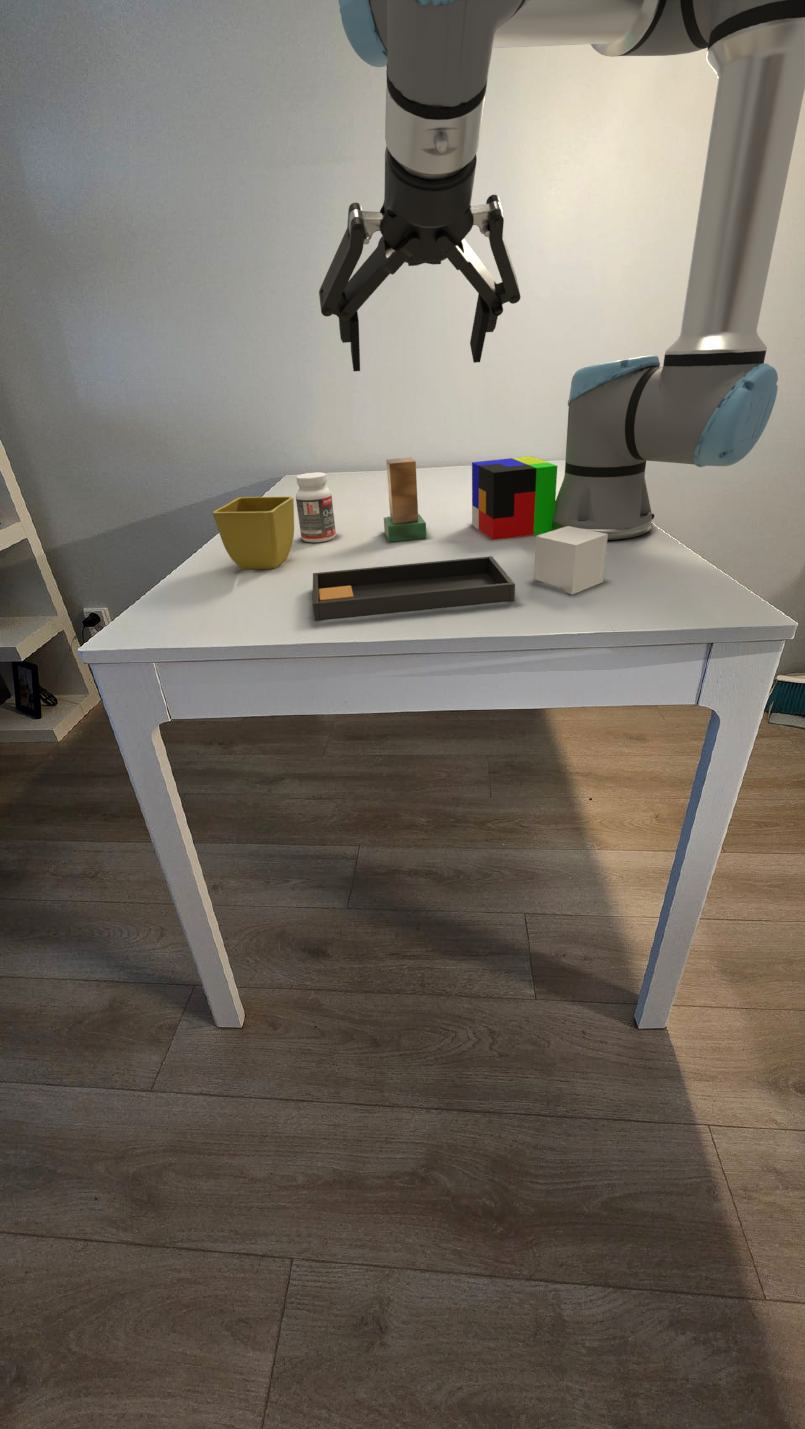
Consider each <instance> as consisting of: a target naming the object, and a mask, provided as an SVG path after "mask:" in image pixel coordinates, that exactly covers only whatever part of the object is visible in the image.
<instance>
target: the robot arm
mask: <svg viewBox="0 0 805 1429" xmlns="http://www.w3.org/2000/svg"><path fill="white" fill-rule="evenodd" d="M338 5H339V13H340V16H341V17H340V18H341V25H342V28H343V30H344V34H345V36H346V38H347V40H348V42H349V44H350V46H351V48H352V49H353V51H354V52H355V54H356V55H357V56H358V57H359V58H360V59H361V60H362V62H364V63H366V64H367V65H369V66H371V67H374V68H383V67H386V71H385V72H386V73H385V74H386V79H385V80H386V81H385V82H386V84H385V117H384V118H385V119H384V120H385V122H384V124H385V125H384V126H385V127H384V139H385V149H384V195H383V196H384V197H383V198H384V199H383V203H382V206H381V207H380V209H379V211H369V210H368V211H367V210H363V207H362V205H361V204H360V203H359V202H352V203H351V204H350V205H349V206H348V211H347V212H348V213H347V228H346V229H345V231H344V234H343V236H342V238H341V241H340V243H339V245H338V247H337V249H336V252H335V254H334V257H333V258H332V261H331V263H330V266H329V268H328V269H327V272H326V273H325V274H326V275H325V276H324V279H323V281H322V283H321V285H320V288H319V290H318V295H319V296H318V298H319V304H320V305H319V306H320V312H321V315H322V316H324V317H330V316H331V317H332V315H334V316H336V317H338V328H339V336H340V341H341V342H342V343H343V344H346V343H350V355H351V362H352V370H353V372H361V353H360V350H361V349H360V321H359V314H358V311H359V309H360V308H361V307H362V306H363V305H364V304H365V303H366V301H368V299H369V298H370V297H371V296H372V295H373V294H374V293H375V291H376V290H377V289H378V288H379V287H380V286H381V285H382V283H383V282H384V281H385V280H386V279H387V278H388V277H389V276H390V275H392V276H393V275H394V274H396V273H397V271H398V270H399V269H400V268H401V267H402V266H403V265H404V264H405V263H406V264H407V266H408V267H416V266H420V265H424V264H427V265H432V266H433V265H442V261H444V260H446V259H447V260H448V262H450V264H451V265H452V266H453V267H454V268H455V270H456V271H460V272H461V274H462V275H463V276H464V277H465V279H466V280H467V281H468V283H469V284H470V285H471V286H472V287H473V288H474V290H475V291H476V292H477V294H478V296H477V301H476V306H475V312H474V317H473V323H472V329H471V335H470V341H469V346H470V351H471V356H472V361H473V362H472V363H474V364H475V363H476V364H477V363H481V360H482V354H483V351H484V350H483V349H484V345H485V341H486V340H485V339H486V335H487V333H494V331H495V330H496V327H497V322H498V317H500V316H501V315H502V314H503V312H504V307H503V305H504V304H506V303H510V304H514V305H515V304H517V303H519V302H520V300H521V298H522V297H521V292H520V287H519V282H518V279H517V278H518V277H517V274H516V271H515V268H514V265H513V262H512V259H511V256H510V252H509V248H508V246H507V243H506V242H507V241H506V240H505V239H506V238H505V237H504V224H505V223H504V222H505V218H504V213H503V209H502V205H501V200H500V197H499V195H498V194H491V195H489V196H488V197H487V199H486V202H485V204H484V203H483V204H479V205H478V204H477V205H471V203H472V197H473V190H474V183H475V175H476V168H477V162H478V160H477V159H478V158H477V153H478V150H479V145H480V139H481V138H480V137H481V130H482V122H483V114H484V106H485V98H486V94H487V87H488V80H489V79H488V78H489V72H490V67H491V66H490V64H491V59H492V53H493V49H510V48H513V49H514V48H533V47H557V46H558V47H559V46H581V45H590V46H591V47H592V48H593V50H594V51H596V52H597V53H598V54H600V55H602V56H605V57H656V56H657V57H661V56H662V57H667V56H678V55H685V54H691V53H695V52H699V51H702V50H705V49H707V50H706V62H707V64H708V65H709V66H710V67H711V68H712V70H713V71H714V72H715V74H716V76H717V79H718V80H717V86H716V93H715V98H714V106H713V112H712V119H711V125H710V133H709V139H708V146H707V152H706V159H705V166H704V173H703V180H702V186H701V192H700V199H699V206H698V212H697V221H696V227H695V233H694V240H693V246H692V252H691V260H690V266H689V274H688V279H687V287H686V293H685V300H684V306H683V307H684V308H683V313H682V320H681V327H680V334H679V336H678V337H677V338H676V340H675V341H674V342H673V343H671V345H670V346H668V348H667V349H666V350H665V351H664V357H663V363H662V367H661V362H660V358H659V356H658V355H657V354H652V355H651V354H650V355H644V356H638V357H632V358H626V359H620V360H619V359H618V360H614V361H608V362H601V363H597V364H592V365H587V366H583V367H581V368H579V369H578V370H576V371H575V372H574V374H573V376H572V378H571V382H570V390H569V395H568V396H569V397H568V400H567V406H568V412H567V426H566V427H567V429H566V442H565V444H566V445H565V446H566V447H565V461H564V462H565V463H564V464H565V465H564V475H563V479H562V483H561V485H560V487H559V491H558V493H557V495H556V498H555V514H554V517H553V521H552V531H554V530H557V529H560V528H563V527H566V526H571V527H576V528H581V529H586V530H591V531H595V532H600V533H605V534H608V538H607V541H613V540H624V539H632V538H635V537H639V536H642V535H644V534H647V533H648V532H650V530H651V528H652V520H654V518H655V514H654V513H653V512H652V507H651V502H650V497H649V493H648V492H649V491H648V488H647V481H646V469H647V468H646V467H647V462H659V463H669V464H670V463H671V464H672V463H673V464H683V465H693V466H696V467H698V468H703V467H729V466H733V465H735V464H737V463H739V462H741V460H743V459H744V458H745V457H746V456H748V454H749V453H750V452H751V451H752V450H753V448H754V447H755V446H756V444H757V442H758V441H759V440H760V438H761V436H762V435H763V433H764V430H765V429H766V427H767V425H768V423H769V419H770V417H771V416H772V412H773V409H774V406H775V403H776V400H777V394H778V389H779V388H778V386H779V385H777V383H778V380H779V374H778V372H777V370H776V369H775V367H774V366H772V365H770V364H769V363H765V358H766V354H767V349H768V347H767V345H766V344H765V343H764V341H763V340H762V339H761V337H760V336H759V334H758V325H759V320H760V315H761V310H762V306H763V300H764V296H765V289H766V285H767V280H768V276H769V270H770V266H771V260H772V255H773V249H774V245H775V240H776V235H777V231H778V224H779V221H780V215H781V209H782V204H783V200H784V195H785V190H786V184H787V179H788V175H789V170H790V164H791V160H792V154H793V150H794V145H795V140H796V135H797V129H798V126H799V125H798V124H799V120H800V114H801V109H802V104H803V100H804V94H805V0H338ZM474 226H477V227H478V229H479V232H480V233H481V234H482V235H484V237H485V238H488V240H489V246H490V249H491V250H490V251H491V253H492V256H493V259H494V262H495V265H496V268H497V270H498V273H499V276H500V279H501V282H497V280H496V279H495V278H494V276H493V275H492V274H491V273H490V271H489V270H488V268H486V266H485V265H484V263H483V262H482V261H481V259H480V258H479V256H478V255H477V254H476V252H474V249H472V247H471V246H470V245H469V244H468V242H467V241H466V239H465V238H466V237H467V235H469V233H470V232H471V230H472V229H473V227H474ZM376 232H380V234H381V237H380V238H379V240H378V243H377V247H375V249H374V250H373V251H372V252H371V254H370V255H369V256H368V257H367V259H366V260H365V261H364V262H362V264H361V266H360V267H359V268H358V269H357V271H355V269H356V266H357V264H358V262H359V261H360V258H361V256H362V253H363V250H364V245H365V246H366V245H369V243H370V240H371V239H372V237H373V234H374V233H376ZM354 271H355V273H354ZM353 273H354V274H353Z"/></svg>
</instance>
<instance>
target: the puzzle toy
mask: <svg viewBox="0 0 805 1429" xmlns="http://www.w3.org/2000/svg"><path fill="white" fill-rule="evenodd" d="M557 475H558V465H557V464H553V463H552V462H548V461H545V460H542V459H540V458H537V457H534V456H531V455H530V456H529V455H528V456H521V457H509V458H500V459H499V458H498V459H491V460H482V461H472V462H471V526H473V528H476V529H477V530H478V531H480V532H481V533H483V535H485V536H487V537H488V538H489V539H490V540H492V541H494V540H503V539H504V540H506V539H512V538H520V537H528V536H529V537H530V536H538V535H541V534H544V533H547V532H550V531H552V521H553V517H554V514H555V501H556V498H557V495H556V494H557V481H558V480H557V479H558V476H557Z"/></svg>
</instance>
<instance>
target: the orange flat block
mask: <svg viewBox="0 0 805 1429" xmlns="http://www.w3.org/2000/svg"><path fill="white" fill-rule="evenodd" d="M319 598H320V602H321V601H331V600H341V599H351V598H354V596H353V592H352V588H351V586H341V587H332V588H322V589H319Z"/></svg>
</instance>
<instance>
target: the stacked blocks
mask: <svg viewBox="0 0 805 1429" xmlns="http://www.w3.org/2000/svg"><path fill="white" fill-rule="evenodd" d="M386 475H387V490H388V503H389V506H388V507H389V516H385V517H383V527H384V528H383V530H384V534H385V536H386V538H387V542H388V543H393V542H405V541H413V540H414V541H415V540H426V539H427V523H426V521H425V520H424V518H423V516H422V515H421V514H419V503H418V501H419V500H418V482H417V481H418V480H417V461H416V460H415V459H414V458H413V457H412V456H409V457H400V458H398V457H397V458H388V459H386Z"/></svg>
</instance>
